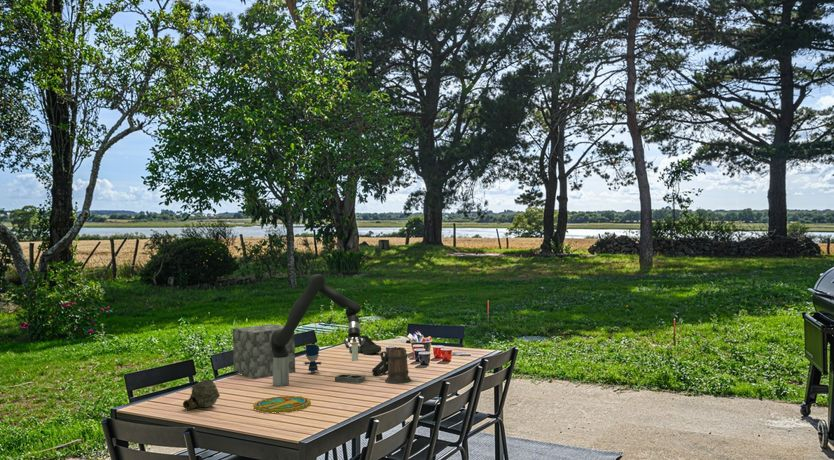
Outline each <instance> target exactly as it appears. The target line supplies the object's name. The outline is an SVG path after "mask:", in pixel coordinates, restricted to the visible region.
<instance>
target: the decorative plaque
mask: <svg viewBox="0 0 834 460" xmlns="http://www.w3.org/2000/svg"><path fill="white" fill-rule="evenodd" d="M310 406H311V399H310V398H308V397H305V396H301V395H300V396H299V395H298V396H295V395H285V396H284V395H283V396H282V395H279V396H273V397H268V398H267V397H266V398H263V399H261V400H257V402H254V404H253V406H252V407H254V408H253V410H254V409H256V410H259V411H263V412H269V413H268V414H270V413H272V412H276V413H275V414H277V413H278V414H280V413H279V412H287V413H293V412H297V411H296V410H299V409H303V410H305V409H307V407H310ZM256 410H255V411H256ZM259 411H258V412H259ZM292 411H293V412H292ZM299 411H300V410H299ZM263 412H262V413H263ZM272 414H273V413H272Z"/></svg>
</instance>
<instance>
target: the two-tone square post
mask: <svg viewBox="0 0 834 460" xmlns="http://www.w3.org/2000/svg"><path fill="white" fill-rule="evenodd" d="M351 348H352V354H351V362H358V361H359V353H358V342H351Z"/></svg>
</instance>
